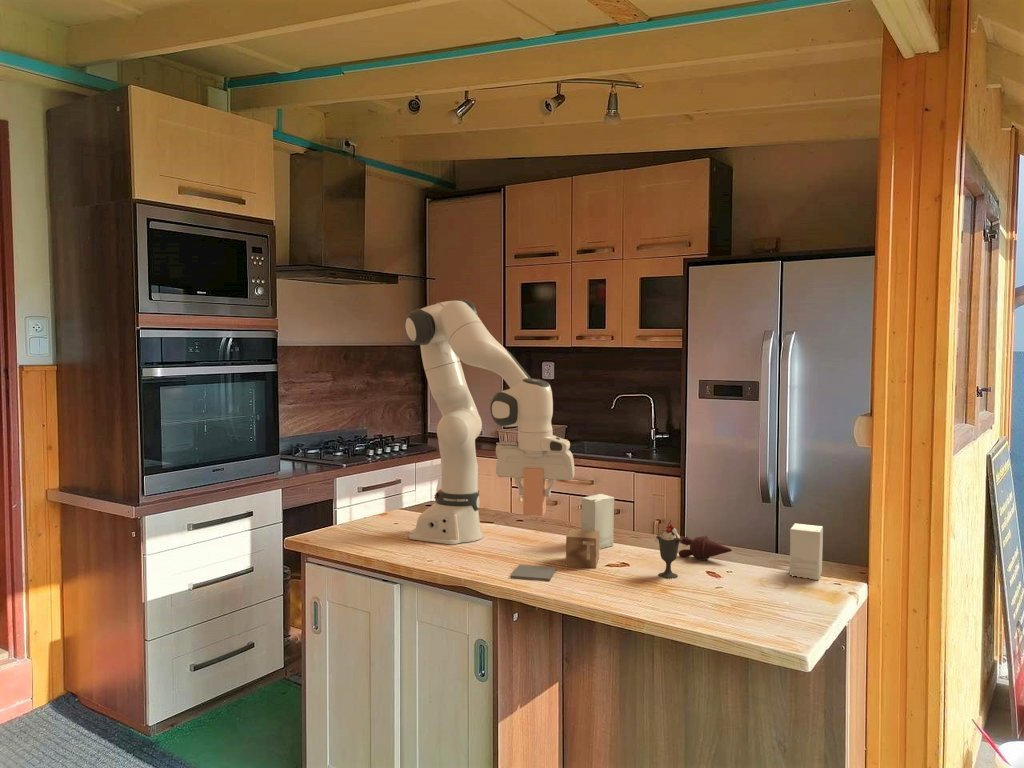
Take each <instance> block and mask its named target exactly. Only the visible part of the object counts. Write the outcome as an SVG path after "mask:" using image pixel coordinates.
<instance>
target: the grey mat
mask: <svg viewBox="0 0 1024 768" xmlns="http://www.w3.org/2000/svg"><path fill="white" fill-rule="evenodd" d="M555 570H556V571H557V567H555V566H540V565H529V564H518V566H517V567H516V568H515V569H514V571H513V572H512V573H511V575H510V578H511V579H521V580H530V581H532V580H533V581H543V580H544V581H545V582H550V581H552V578H553V576H554V574H555V573H554V572H556V571H555Z"/></svg>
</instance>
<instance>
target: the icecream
mask: <svg viewBox="0 0 1024 768" xmlns="http://www.w3.org/2000/svg"><path fill="white" fill-rule="evenodd" d="M681 537H682V540H681V541H680V542H679V544H682V545H684V546H689V549H681V550H679V551H678V556H680V557H681V558H688V557H691V556H693V558H696V559H697V560H698V559H699V560H701V561H705V562H707V561H708V560H709V559H710V558H713V557H715V556H720V555H722V554H726V553H731V552H732V549H731V548H730V547H727V546H726V545H723V544H720V543H718V542H715V541H713V540H711V539H710V538H709V537H708V535H703V536H697V537H695V538H693V539H692V538H689V536H687V535H686V536H684V535H683V536H681Z"/></svg>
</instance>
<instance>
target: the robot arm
mask: <svg viewBox="0 0 1024 768" xmlns="http://www.w3.org/2000/svg"><path fill="white" fill-rule="evenodd" d="M404 327H405V328H404V329H405V333H406V335H407V337H408V340H410V342H411V343H413V344H414V345H417V346H420V354H421V360H422V366H423V369H424V373H425V376H426V380H427V383H428V386H429V390H430V393H431V396H432V398H433V399H434V401H435V403H436V405H437V407H438V409H439V412H440V413H441V416H442V417H441V418H440V420H439V422H438V424H437V427H436V436H437V439H438V440H437V441H438V449H439V454H440V462H441V488H440V489H438V490H437V492H435V494H434V495H433V496H434V497H433V498H434V500H435V502H434V504H432V505H430V506H429V507H428V508H427V509H425V510H424V511H423V512H422V513H421V514H419V516H418V517H417V521H416V524H415V526H416V527H415V528H413V529H411V530H410V532H409V533H408V538H409V540H413V541H414V540H416V541H421V542H430V543H436V544H437V543H438V544H446V545H456V544H460V543H470V542H475V541H479V540H482V538H484V535H483V531H482V528H481V524H480V523H481V521H480V514H479V509H480V505H481V504H480V503H481V502H480V490H479V463H478V460H477V451H476V439H477V438H478V437H479V436H480V434H481V432H482V428H483V422H482V417H481V416H480V414H479V412H478V408H477V406H476V404H475V401H474V398H473V396H472V394H471V392H470V389H469V386H468V383H467V381H466V378H465V374H464V370H463V365H462V363H463V364H465V365H468V366H471V367H476V368H480V369H484V370H487V371H490V372H493V373H495V374H497V375H498V376H500V377H501V378H502V379H503V380H504V382H505V383H506V384H507V385H508V387H509V388H508V389H504V390H502V391H498V392H496V393H495V394H494V395H493V397H492V398H491V400H490V405H489V413H490V417H491V419H492V420H493V422H494V423H495V424H496V425H498V426H499V427H504V428H510V427H512V428H513V427H518V428H517V430H518V431H517V434H518V435H517V436H518V437H517V441H512V440H511V441H506V440H502V441H501V442H498V444H496V446H495V456H496V457H497V459H496V463H495V465H496V467H495V475H496V476H498V478H509V479H510V478H512V479H513V478H514V483H515V485H516V487H517V489H519V490H518V495H519V496H523V485H522V484H523V483H521V482H522V481H523V473H524V468H540V469H543V479H546V480H548V481H547V483H548V484H549V486H548V487H547V488H546V489H544V496H545V497H546V498H549V497H551V491H552V488H553V486H554V485H555V483H556V481H571V480H572V479H574V477H575V471H576V470H575V461H574V455H573V453H572V452H571V450H570V447H571V442H570V441H569V440H568V439H565V438H561V437H559V436H557V435H554V434H553V433H554V432H553V427H552V426H553V425H552V418H553V415H554V414H553V413H554V399H553V390H552V387H551V384H550V383H549V382H548V381H546V380H543V379H540V378H531V376H530V375H529V374H528V372H527V371H526V370H525V369H524V367H523V366H522V365H521V364H520V362H519V361H518V360H517V359H516V358H515V356H514V355H513V354H512V353H511V352H510V351H509V350H508V349H506V347H504V346H503V345H502V344H501V343H500V342H499V341H498V340H497V339H495V337H494V336H493V335H492V334H491V333H490V332H489V330H488V329H487V327H486V326H485V324H484V323H483V321H482V320H481V318H480V317H479V314H478V311H477V308H476V306H475V304H474V303H473V302H472V301H471V300H469V299H465V298H457V299H455V300H448V301H441V302H437V303H435V304H431V305H427V306H425V307H422V308H416V309H414V310H412V311H410V312H409V313H407V315H406V317H405V320H404ZM461 362H462V363H461Z"/></svg>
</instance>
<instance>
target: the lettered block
mask: <svg viewBox="0 0 1024 768" xmlns="http://www.w3.org/2000/svg"><path fill="white" fill-rule="evenodd" d="M598 560H600V549H599V531H587V530H581V529H570V530H569V532H567V534H566V539H565V566H566V565H567V566H566V567H573V566H580V567H579V568H587V567H591V568H590V569H596V568H597V566H598V564H599V561H598Z"/></svg>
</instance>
